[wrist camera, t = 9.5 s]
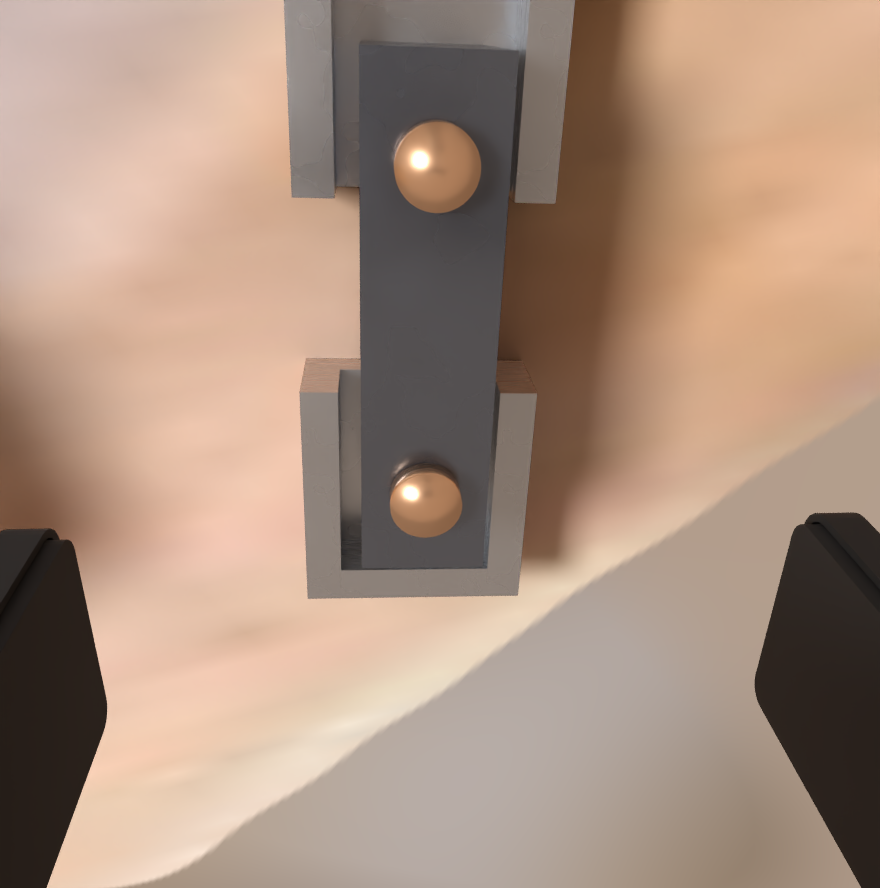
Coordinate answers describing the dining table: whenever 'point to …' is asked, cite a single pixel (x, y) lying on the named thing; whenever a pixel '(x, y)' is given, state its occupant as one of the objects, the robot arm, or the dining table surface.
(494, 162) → the link bar
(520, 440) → the end link
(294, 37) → the end link
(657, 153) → the dining table surface
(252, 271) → the dining table surface
